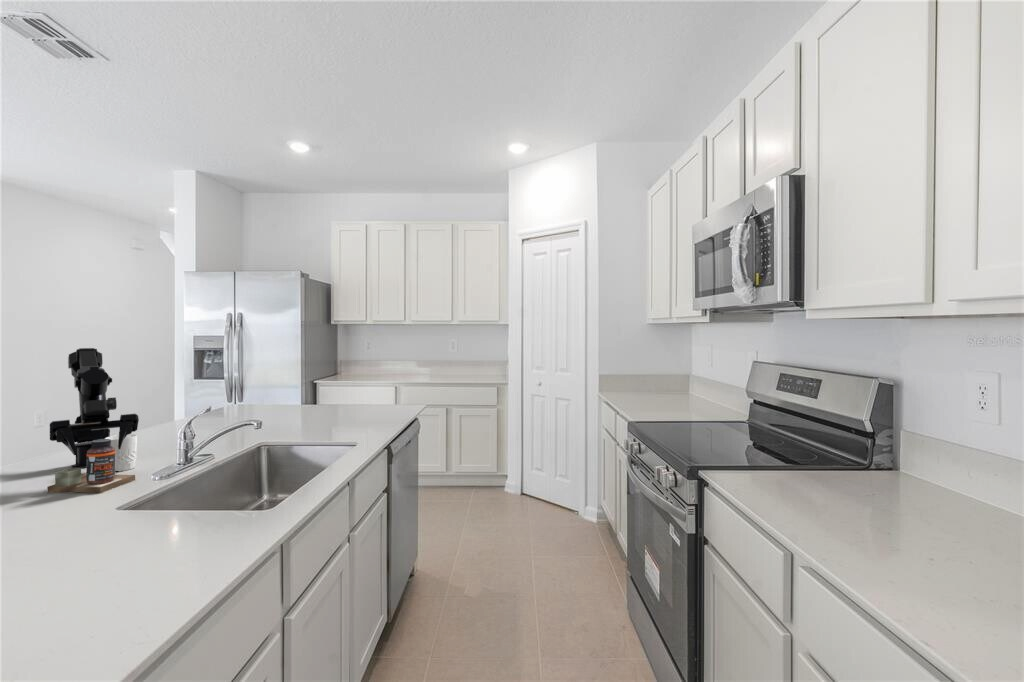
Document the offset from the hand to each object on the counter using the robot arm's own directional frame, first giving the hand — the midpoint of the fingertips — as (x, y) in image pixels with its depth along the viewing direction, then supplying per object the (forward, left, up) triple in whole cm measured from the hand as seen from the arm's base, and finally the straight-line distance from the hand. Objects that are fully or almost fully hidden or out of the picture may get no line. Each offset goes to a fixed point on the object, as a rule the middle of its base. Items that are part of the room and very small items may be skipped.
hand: (97, 451), depth 130 cm
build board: (-1, 0, -9) cm, 10 cm away
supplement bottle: (+3, -2, -8) cm, 9 cm away
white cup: (-7, +16, -10) cm, 20 cm away
